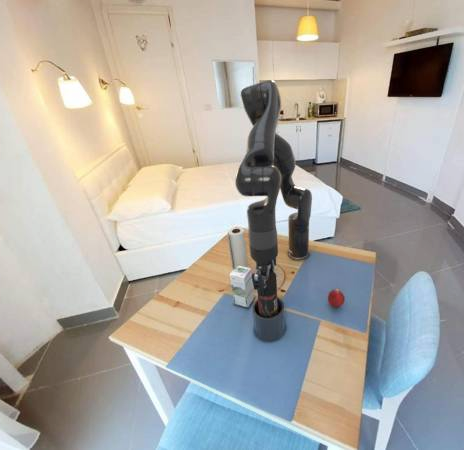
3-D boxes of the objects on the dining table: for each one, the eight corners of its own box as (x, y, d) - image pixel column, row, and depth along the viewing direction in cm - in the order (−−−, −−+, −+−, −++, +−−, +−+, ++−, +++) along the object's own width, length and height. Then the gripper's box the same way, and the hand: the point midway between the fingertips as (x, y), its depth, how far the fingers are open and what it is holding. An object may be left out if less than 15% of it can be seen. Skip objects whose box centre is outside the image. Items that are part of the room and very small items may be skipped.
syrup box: (254, 297, 95) (251, 267, 88) (247, 308, 90) (243, 277, 83) (241, 293, 97) (237, 264, 90) (233, 305, 92) (228, 274, 85)
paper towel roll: (246, 267, 111) (241, 225, 100) (250, 275, 106) (245, 232, 96) (230, 272, 108) (223, 229, 98) (234, 280, 103) (227, 236, 93)
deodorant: (275, 321, 76) (273, 284, 69) (257, 318, 77) (253, 282, 70) (279, 307, 81) (278, 271, 74) (262, 304, 82) (259, 268, 75)
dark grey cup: (261, 313, 88) (259, 292, 83) (287, 319, 86) (287, 298, 81) (250, 337, 80) (247, 315, 75) (279, 344, 77) (278, 322, 72)
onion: (333, 314, 87) (335, 297, 83) (324, 303, 91) (325, 287, 88) (346, 308, 89) (349, 291, 85) (336, 298, 94) (338, 281, 90)
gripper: (259, 225, 73) (263, 270, 81) (238, 254, 61) (245, 303, 69) (284, 228, 71) (285, 274, 79) (267, 258, 59) (271, 308, 67)
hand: (266, 287), depth 74 cm, fingers closed on deodorant, 6 cm apart
